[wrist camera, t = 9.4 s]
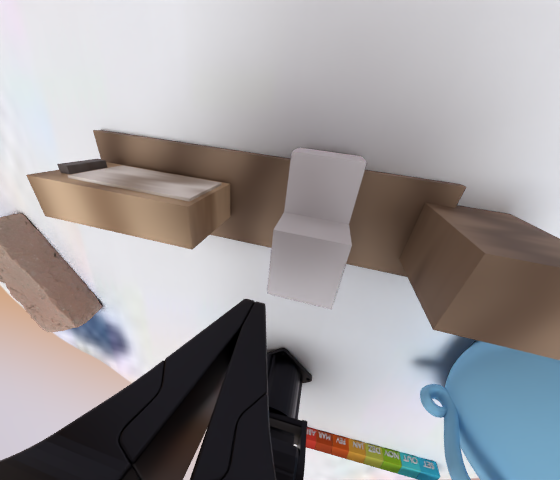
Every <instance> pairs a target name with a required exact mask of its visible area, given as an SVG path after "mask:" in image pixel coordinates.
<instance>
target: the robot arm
mask: <svg viewBox="0 0 560 480" xmlns="http://www.w3.org/2000/svg"><path fill="white" fill-rule="evenodd" d="M310 381H312V376H311V375H310V374H309V373H308V372H307V371H306V370H305V369H304V368H303V366H302V365H301V364H300V363H299V362H298V361H297V360H296V359H295V358H294V357H293V356H292V355H291V354H290V353H289V352H288V351H287V350H286V349H284V348H282V349H279V350H276V351H272V352H269V353H267V343H266V309H265V304H264V303H260V302H254V301H253V300H249V299H244V300H242V301H241V302H240V303H239V304H237V305H236V306H235V307H233V308H232V309H231V310H229V311H228V312H227V313H225V314H224V315H223V316H221V317H220V318H219V319H217V320H216V321H215V322H213V323H212V324H211V325H209V326H208V327H207V328H206V329H204V330H203V331H202V332H200V333H199V334H198V335H196V336H195V337H194V338H192V339H191V340H190V341H188V342H187V343H186V344H184V345H183V346H182V347H180V348H179V349H178V350H176V351H175V352H174V353H172V354H171V355H170V356H169V357H167V358H166V359H165V361H162V362H160V363H159V364H158V365H156V366H155V367H154V368H153V369H151V370H150V371H148V372H147V373H146V374H144V375H143V376H142V377H140V378H139V379H137V380H136V381H135V382H133V383H132V384H130V385H129V386H127V387H126V388H124V389H123V390H121V391H120V392H119V393H117V394H115V395H114V396H112V397H111V398H109V399H108V400H106V401H104V402H103V403H101V404H100V405H98V406H97V407H95V408H93V409H92V410H91V411H89V412H87V413H86V414H84V415H83V416H81V417H80V418H78V419H76V420H75V421H73V422H72V423H70V424H68V425H67V426H65V427H64V428H62V429H61V430H59V431H58V432H56V433H54V434H53V435H51V436H50V437H48V438H46V439H44V440H43V441H41V442H39V443H37V444H35V445H34V446H32V447H30V448H28V449H26V450H24V451H22V452H20V453H17V454H15V455H13V456H11V457H8V458H6V459H3V460H1V461H0V480H183V478H184V476H185V474H186V471H187V469H188V467H189V465H190V463H191V461H192V459H193V457H194V455H195V453H196V450H197V448H198V446H199V444H200V442H201V440H202V438H203V436H204V434H205V431H206V429H207V431H206V434H205V437H204V440H203V443H202V445H201V449H200V451H199V455H198V458H197V460H196V464H195V466H194V469H193V472H192V475H191V478H190V480H303V477H304V465H305V450H306V434H307V421H304V420H302V421H301V420H298V412H299V404H300V396H301V388H302V383H306V382H310ZM207 427H208V428H207ZM294 444H296V445H297V447H296V446H293V445H294Z"/></svg>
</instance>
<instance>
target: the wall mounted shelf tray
mask: <svg viewBox="0 0 560 480" xmlns="http://www.w3.org/2000/svg"><path fill="white" fill-rule="evenodd" d="M58 167H59V170H55V171H49V172H42V173H36V174H30V175H27V177H28V180H29V182H30V184H31V186H32V188H33V190H34V193H35V195H36V197H37V199H38V201H39V203H40V206H41V208H42V210H43V212H44V214H45V216H48V217H52V218H56V219H61V220H65V221H70V222H74V223H78V224H83V225H87V226H92V227H96V228H100V229H105V230H109V231H114V232H118V233H122V234H127V235H131V236H136V237H140V238H144V239H149V240H153V241H157V242H162V243H166V244H171V245H175V246H179V247H184V248H188V249H193V248H195V247H196V246H197V245H198V244H199V243H200V242H202V241H203V240H204V239H205V238H206V237H207V236H209V235H210V234H211V233H212V232H213V231H214V230H215V229H217V228H218V227H219V226H220V225H221V224H222V223H224V222H225V221H226V220H227V219H228V218H229V217H230V184H229V183H223V182H218V181H212V180H206V179H200V178H195V177H189V176H183V175H178V174H172V173H166V172H160V171H155V170H149V169H143V168H138V167H132V166H126V165H120V164H115V163H109V162H106V160H101V159H92V160H85V161H77V162H70V163H63V164H58Z"/></svg>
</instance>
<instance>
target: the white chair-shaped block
mask: <svg viewBox="0 0 560 480" xmlns="http://www.w3.org/2000/svg"><path fill="white" fill-rule="evenodd" d="M366 164H367V162H366V161H365V160H364V158H363V157H362V156H356V155H349V154H342V153H335V152H328V151H321V150H314V149H307V148H300V147H299V148H297V149H295V150H293V151H292V153H291V161H290V169H289V177H288V185H287V193H286V201H285V209H284V213H283V215H282V216H281V218H280V220H279V221H278V223H277V225H276V226H275V228H274V230H273V239H272V249H271V259H270V268H269V278H268V287H267V294H271V295H275V296H279V297H283V298H287V299H291V300H295V301H299V302H303V303H307V304H311V305H315V306H319V307H323V308H327V309H332V307H333V304H334V300H335V297H336V294H337V291H338V288H339V285H340V281H341V278H342V275H343V272H344V269H345V266H346V263H347V259H348V256H349V253H350V250H351V247H352V243H351V236H350V228H349V222H350V219H351V215H352V212H353V208H354V205H355V202H356V198H357V195H358V191H359V188H360V185H361V181H362V178H363V174H364V171H365V167H366Z"/></svg>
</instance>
